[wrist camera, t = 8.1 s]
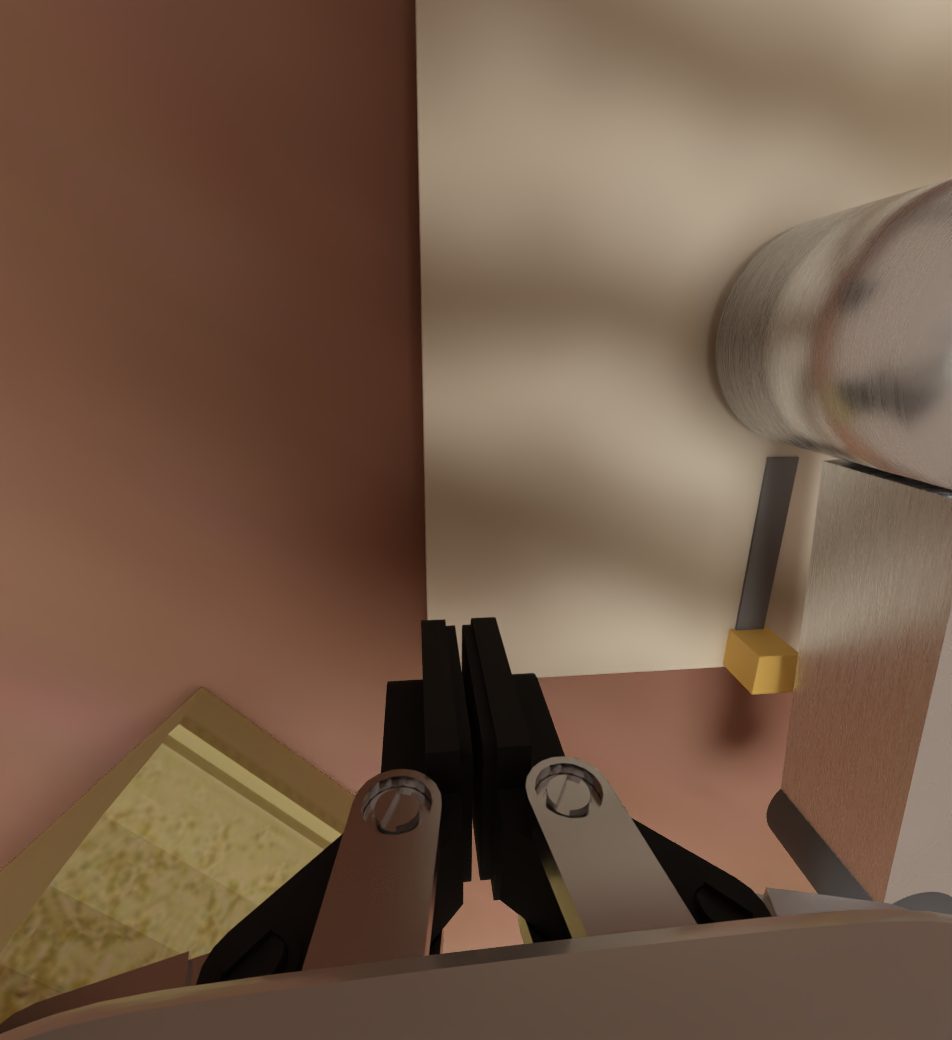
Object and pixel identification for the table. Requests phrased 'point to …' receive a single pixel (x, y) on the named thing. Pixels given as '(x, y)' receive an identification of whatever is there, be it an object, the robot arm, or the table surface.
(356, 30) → the table surface
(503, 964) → the robot arm
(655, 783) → the table surface
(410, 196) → the table surface
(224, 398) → the table surface
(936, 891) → the capstan lever
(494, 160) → the dial base
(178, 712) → the decorative clock
